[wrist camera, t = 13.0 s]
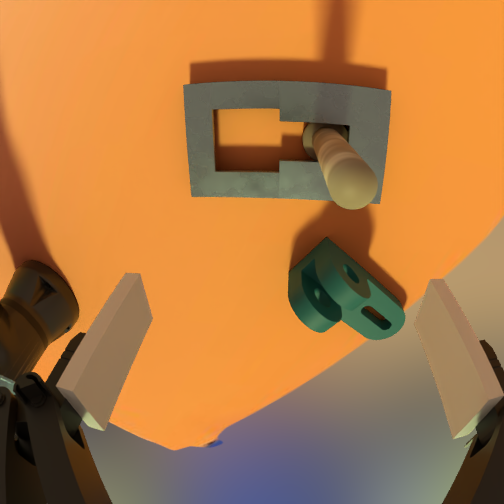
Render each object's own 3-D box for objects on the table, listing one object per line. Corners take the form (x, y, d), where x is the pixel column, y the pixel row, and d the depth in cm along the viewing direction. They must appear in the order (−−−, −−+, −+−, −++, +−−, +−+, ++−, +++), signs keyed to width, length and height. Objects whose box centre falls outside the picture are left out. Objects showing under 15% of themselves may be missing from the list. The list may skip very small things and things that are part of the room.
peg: (301, 160, 31) (310, 221, 19) (302, 115, 29) (315, 143, 16) (346, 162, 31) (385, 225, 18) (349, 118, 28) (396, 150, 16)
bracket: (288, 271, 39) (287, 313, 32) (326, 235, 36) (333, 274, 29) (375, 335, 43) (384, 375, 37) (409, 309, 40) (424, 349, 34)
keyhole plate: (197, 189, 34) (191, 196, 33) (189, 84, 28) (183, 84, 26) (374, 196, 32) (379, 204, 30) (384, 90, 26) (391, 90, 24)
